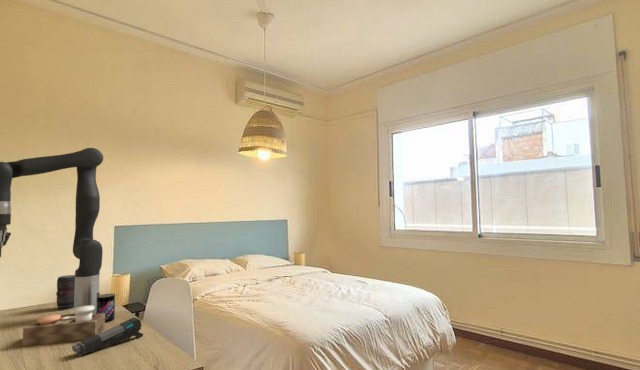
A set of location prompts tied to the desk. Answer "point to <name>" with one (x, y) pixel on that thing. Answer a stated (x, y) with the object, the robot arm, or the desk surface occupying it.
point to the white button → (83, 313)
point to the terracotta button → (49, 319)
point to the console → (63, 330)
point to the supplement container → (106, 306)
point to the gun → (109, 337)
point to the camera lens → (65, 292)
